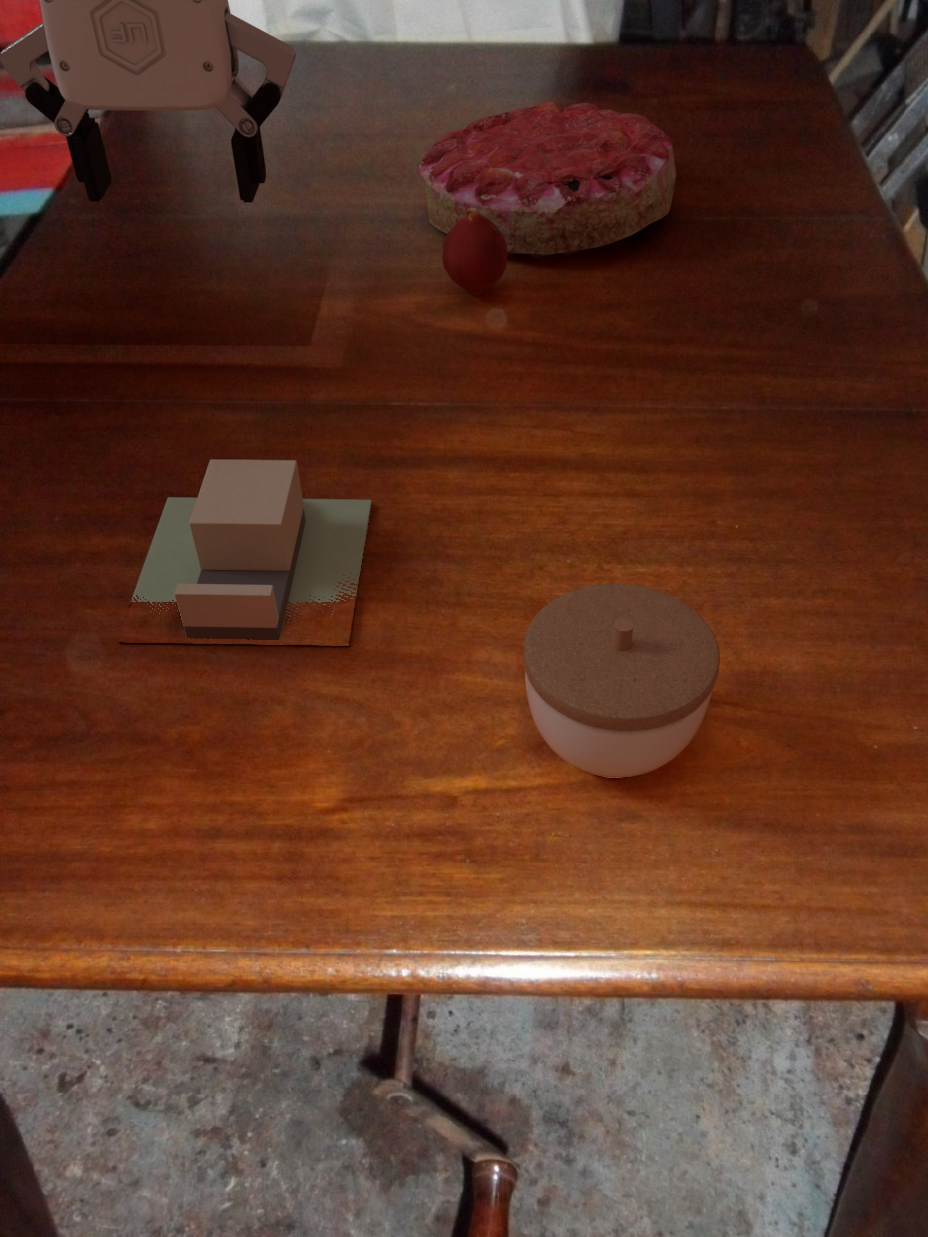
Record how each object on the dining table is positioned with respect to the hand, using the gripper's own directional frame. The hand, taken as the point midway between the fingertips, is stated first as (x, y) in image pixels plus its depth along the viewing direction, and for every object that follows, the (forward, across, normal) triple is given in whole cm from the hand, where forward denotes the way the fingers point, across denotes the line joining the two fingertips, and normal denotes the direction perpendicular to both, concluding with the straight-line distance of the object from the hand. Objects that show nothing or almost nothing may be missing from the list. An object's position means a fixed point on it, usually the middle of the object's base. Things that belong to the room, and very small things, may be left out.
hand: (175, 193), depth 74 cm
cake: (+20, +25, +43) cm, 54 cm away
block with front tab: (+20, +4, -13) cm, 24 cm away
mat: (+20, +4, -13) cm, 24 cm away
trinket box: (+20, +28, -28) cm, 45 cm away
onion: (+20, +18, +26) cm, 38 cm away
